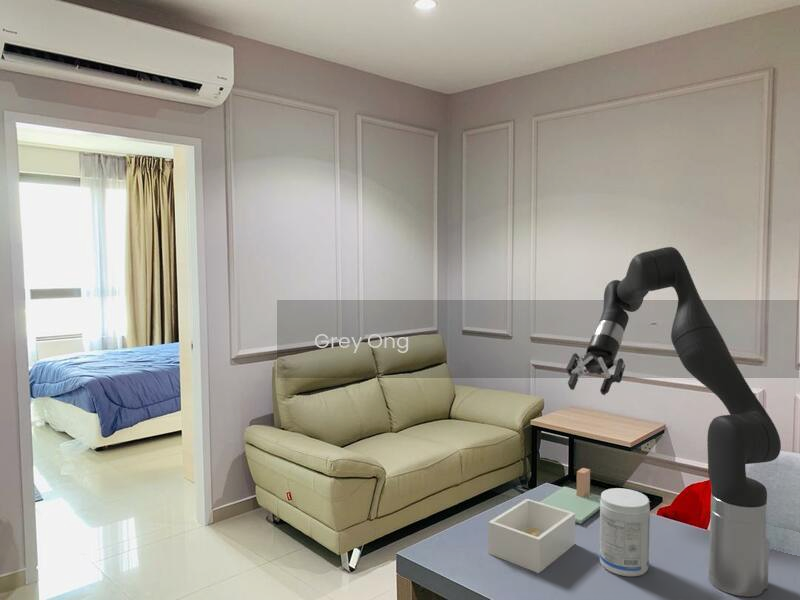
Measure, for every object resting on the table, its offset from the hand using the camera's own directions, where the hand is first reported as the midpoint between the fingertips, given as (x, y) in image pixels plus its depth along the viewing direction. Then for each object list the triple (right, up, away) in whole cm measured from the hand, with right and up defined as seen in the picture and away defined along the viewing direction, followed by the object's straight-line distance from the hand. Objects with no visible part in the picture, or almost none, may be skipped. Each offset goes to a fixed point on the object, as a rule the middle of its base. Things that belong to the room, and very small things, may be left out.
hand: (586, 390), depth 153 cm
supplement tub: (-2, -31, -31) cm, 44 cm away
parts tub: (-19, -31, -24) cm, 44 cm away
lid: (-5, -29, -3) cm, 30 cm away
